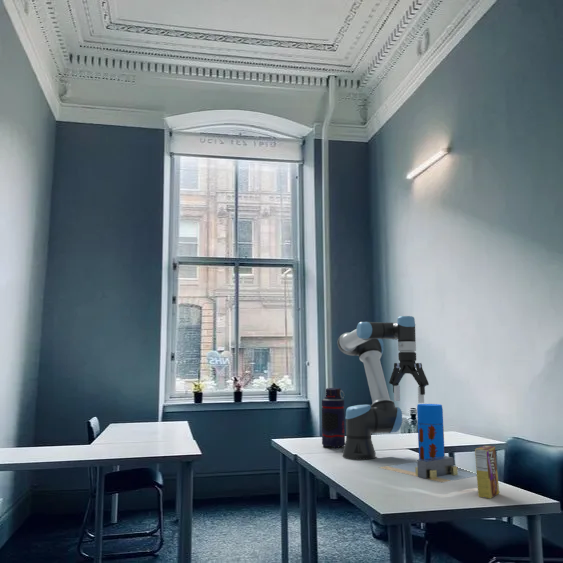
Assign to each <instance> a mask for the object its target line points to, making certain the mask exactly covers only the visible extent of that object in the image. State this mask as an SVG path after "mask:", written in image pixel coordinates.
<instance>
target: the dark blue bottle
mask: <svg viewBox="0 0 563 563" xmlns="http://www.w3.org/2000/svg"><path fill="white" fill-rule="evenodd" d="M341 392H342V393H343V395H345V393H344V391H343V390H342V389H341V388H340V387H327V388H325V397H324V398H323V399H321V434H322V435H321V445H322V447H323V448H326V447H333V448H334V449H339V448H340V447H342V446H343V448H344V446H345V442H346V418H345V417H346V413H345V400H344V399H343V396H342V394H341Z"/></svg>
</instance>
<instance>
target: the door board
mask: <svg viewBox="0 0 563 563" xmlns="http://www.w3.org/2000/svg"><path fill="white" fill-rule="evenodd" d="M415 467H417V461H414V462H413V461H412V462H405V463H400V464H399V463H398V464H393V465H392V464H391V465H387V466H380V467H378V468H379V469H383V470H388V471H391V472H396V473H401V474H405V475H409V476H414V477H417V478H419V477H418V476H416V471H415ZM457 471H458V475H451V474H450V475H445V476H439V477H437V479H430V478H428V479H427V480H430V481H434V482H438V483H439V482H440V483H446V482H451V481H452V482H453V481H456V480H463V479H467V478H472V477H477V473H472V472H467V471H461V470H458V469H457Z"/></svg>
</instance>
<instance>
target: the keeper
mask: <svg viewBox="0 0 563 563" xmlns="http://www.w3.org/2000/svg"><path fill="white" fill-rule="evenodd" d="M457 470H458V466H456V465H454V466H452V467H451V475H458V471H459V470H458V471H457ZM415 471H416V476H415V477H417V476H418V468H417V467H415ZM430 479H437V471H436V470H430ZM430 479H429V480H430Z"/></svg>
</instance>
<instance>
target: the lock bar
mask: <svg viewBox="0 0 563 563" xmlns="http://www.w3.org/2000/svg"><path fill="white" fill-rule="evenodd" d="M416 462H417V468H418V477H417V478H422V479H427V480H429V479H428V478H430V470H436V471H437V477H439V476H445V475H450V474H451V467H452V466H455V465H454V464H455V463H454V457H452V456H446V455H445V456H442V457H435V458H429V459H422V460H419V459H417V461H416Z"/></svg>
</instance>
